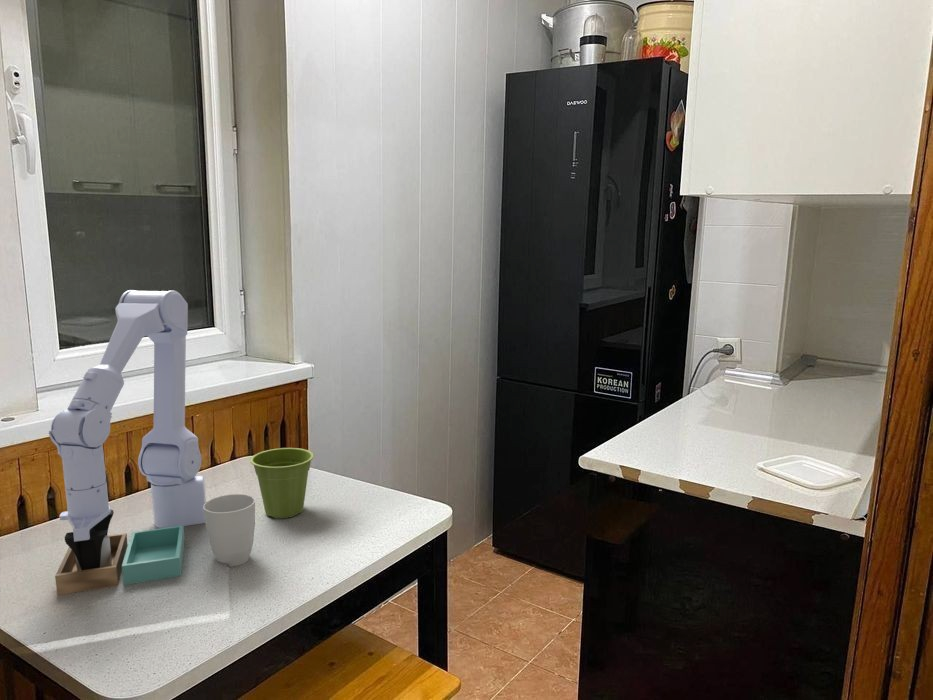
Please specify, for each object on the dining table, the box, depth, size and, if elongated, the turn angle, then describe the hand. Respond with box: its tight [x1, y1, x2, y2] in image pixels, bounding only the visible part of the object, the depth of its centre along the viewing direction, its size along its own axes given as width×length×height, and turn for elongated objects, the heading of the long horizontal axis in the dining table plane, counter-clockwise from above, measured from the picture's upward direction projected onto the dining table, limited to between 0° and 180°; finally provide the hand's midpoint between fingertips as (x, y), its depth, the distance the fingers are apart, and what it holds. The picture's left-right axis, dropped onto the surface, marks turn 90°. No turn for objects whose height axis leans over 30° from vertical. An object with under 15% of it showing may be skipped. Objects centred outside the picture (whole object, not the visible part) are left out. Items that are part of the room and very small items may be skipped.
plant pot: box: [249, 447, 315, 519], centre depth 137 cm, size 12×12×11 cm
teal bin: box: [121, 525, 186, 586], centre depth 116 cm, size 8×13×4 cm, turn 19°
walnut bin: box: [54, 532, 129, 596], centre depth 113 cm, size 8×13×4 cm, turn 19°
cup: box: [203, 493, 256, 568], centre depth 117 cm, size 8×8×10 cm
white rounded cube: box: [75, 534, 112, 571], centre depth 113 cm, size 5×5×5 cm
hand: (94, 565), depth 113 cm, fingers open, 5 cm apart
